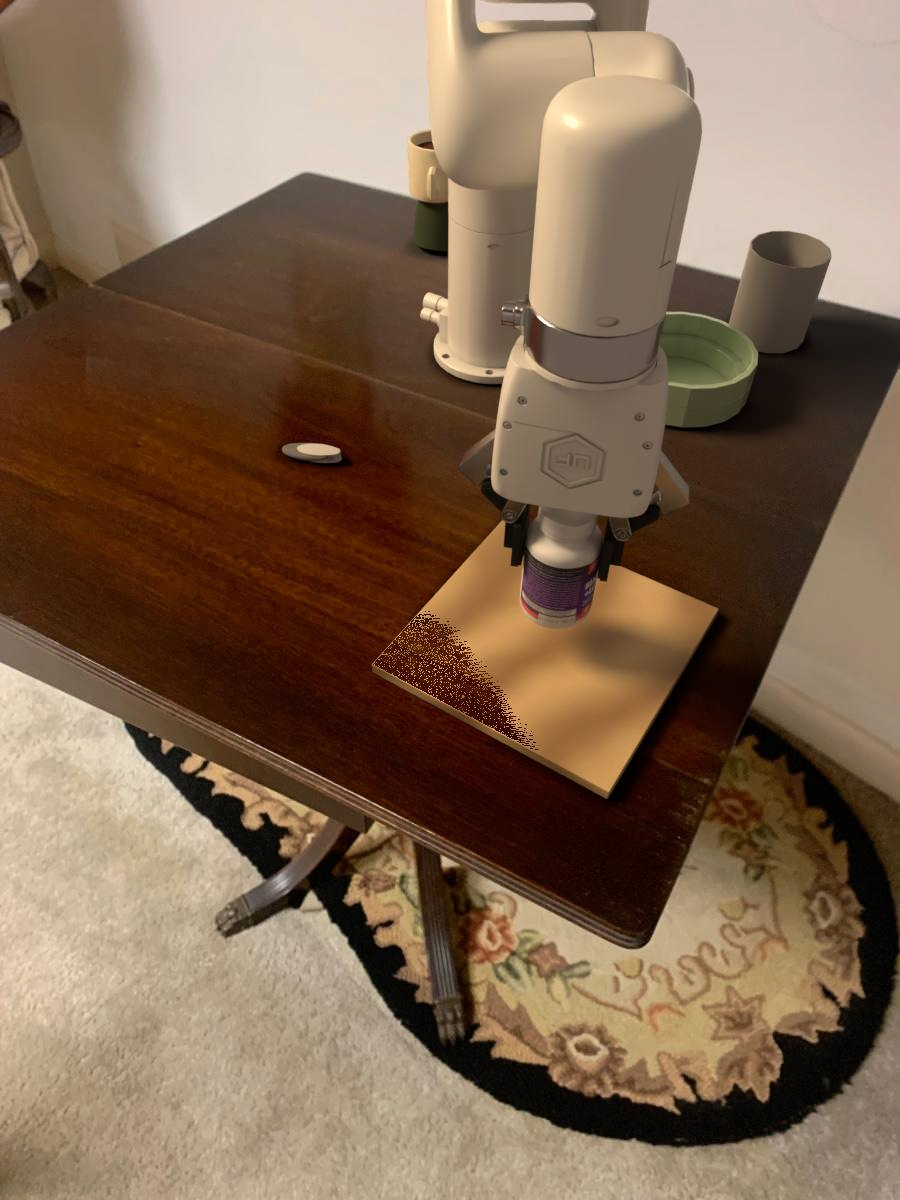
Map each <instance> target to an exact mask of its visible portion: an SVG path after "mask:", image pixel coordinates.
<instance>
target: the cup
mask: <svg viewBox="0 0 900 1200" xmlns="http://www.w3.org/2000/svg"><path fill="white" fill-rule="evenodd" d="M832 257H833V256H832V251H831V248H830V246H828V245H827V244H826V243H825V242H824V241H822V240H821V239H818V238H816V237H814V236H811V235H810V234H806V233H802V232H797V231H792V230H770V231H765V232H761V233H758V234H757V235H756V236H754V237H753V238H752V239H751V240H750V242H749V246H748V249H747V254H746V257H745V261H744V265H743V268H742V272H741V276H740V280H739V284H738V288H737V290H736V291H737V292H736V295H735V299H734V302H733V306H732V310H731V314H730V318H729V322H728V324H730V325H732V326H734V327H736V328H737V329H739V330H741V331H742V332H743V333H744V334H745V335H746V336H747V337H748V338H750V339H751V340H752V342H753V344H754V346H755V348H756V349H757V351H758V353H759V352H760V353H764V354H785V353H788V352H791V351H794V350H797V349H798V348H799V347H800V346H801V345H802V344H803V342H804V341H805V337H806V334H807V331H808V328H809V326H810V322H811V319H812V316H813V313H814V311H815V307H816V304H817V301H818V298H819V295H820V293H821V289H822V287H823V284H824V281H825V277H826V275H827V272H828V270H829V267H830V263H831V260H832Z"/></svg>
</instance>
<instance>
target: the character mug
mask: <svg viewBox="0 0 900 1200" xmlns="http://www.w3.org/2000/svg"><path fill="white" fill-rule="evenodd" d="M407 157H408V158H407V164H408V165H407V168H408V169H407V170H408V190H409V195H410V196H411V197H412V198H414V200H417V203H416V206H415V216H414V223H413V234H412V242H413V243H414V245H416V246H417V247H420V248H421V249H427V250H431V251H439V252H448V225H449V213H448V177H447V175H446V174H445V173H444V172H443V170H442V168H441V166H440V164H439V162H438V160H437V157H436V154H435V150H434V146H433V142H432V135H431V128H428V129H422V130H418V131H416V132H414V133H411V134H410V135H409V136H408V137H407Z"/></svg>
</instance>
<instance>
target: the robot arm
mask: <svg viewBox="0 0 900 1200" xmlns="http://www.w3.org/2000/svg"><path fill="white" fill-rule="evenodd" d="M481 1H482V2H486V3H490V4H499V5H579V4H580V5H586V6H587V7H588V8H590V14H591V15H590V18H589V19H561V20H560V19H559V20H557V19H556V20H553V19H552V20H545V19H515V20H514V19H513V20H510V19H509V20H507V19H506V20H489V21H488V20H487V21H482V22H477V13H476V0H424V30H425V31H424V33H425V34H424V35H425V59H426V79H427V81H426V82H427V83H426V84H427V100H428V103H427V104H428V118H429V127H430V129H431V135H432V142H433V146H434V150H435V154H436V157H437V160H438V162H439V164H440V166H441V168H442V170H443V172H444V173H445V174H446V175H447V177H448V213H449V225H448V251H447V258H448V259H447V262H448V263H447V298H445V296H442V295H439V294H436V293H433V292H430V291H429V292H427V293H426V294H425V295H424V297H423V300H422V309H421V310H420V314H419V317H420V320H422V321H424V322H427V323H430V324H435V325H436V326H437V328H438V332H437V333H436V335H435V337H434V339H433V356H434V359H435V361H436V363H437V364H438V365H439V367H440V368H442V369H443V370H444V371H446V373H448V374H450V375H452V376H453V377H456V378H458V379H461V380H463V381H467V382H471V383H476V384H481V385H482V384H484V385H501V389H500V395H499V401H498V409H497V415H496V422H495V428H494V429H493V430H492V431H490V432H489V433H488V434H486V435H485V436H484V437H483V438H481V439H480V440H479V441H478V442H476V443H475V444H474V445H472V446H470V447H469V448H468V449H466V450H465V451H464V452H463V453H462V455H461V457H460V460H459V464H458V467H457V469H458V472H460V474H462V475H463V476H464V477H465V478H466V479H467V480H468V481H470V482H471V483H472V484H473V485H474V486H476V487H477V486H478V487H479V488H480V492H481V494H482V495H483V496H484V497H485V498H486V499H487V500H488V501H489V502H490V503H491V504H492V505H493V506H494V507H495V508H497V510H498V511H499V512H500V518H501V521H502V520H503V521H504V522H505V534H504V547H506V548H512V554H511V566H515V567H518V565H520V566H521V563H522V559H523V555H524V547H525V538H526V532H527V528H528V526H529V525H530V519H531V509H532V508H531V507H532V506H538V507H539V506H544V507H551V508H557V509H563V510H570V511H576V512H583V513H589V514H596V515H598V516H603V517H607V518H606V524H605V529H604V535H603V547H602V552H601V558H600V563H599V569H598V575H597V578H598V579H600V581H604V582H607V578H608V573H609V568H610V565H615V566H621V564H622V559H623V553H624V548H625V544H626V541H627V542H628V541H629V540H630V539H632V535H633V533H635V532H637V531H639V530H641V529H643V528H645V527H647V526H649V525H651V524H654V523H656V522H657V521H658V520H659V519H660V517H661V516H667V515H669V514H671V513H674V512H676V511H679V510H681V509H683V508H686V507H687V506H689V504H690V497H691V488H690V485H689V484H688V483H687V482H686V480H685V479H684V478H683V476H682V475H681V474H680V472H679V471H678V469H676V467H675V466H674V465H673V463H672V462H671V461H670V459H669V458H668V457H667V455H666V454H665V453H664V452H663V450H662V449H663V448H662V446H663V443H664V442H663V441H664V435H665V429H666V425H665V423H666V414H667V405H668V366H667V357H666V354H665V352H664V350H663V349H662V348H661V347H660V341H661V336H662V331H663V327H664V322H665V317H666V312H668V311H667V310H668V305H669V300H670V296H671V291H672V287H673V281H674V276H675V271H676V266H677V260H678V256H679V251H680V247H681V242H682V237H683V233H684V232H683V231H684V227H685V222H686V217H687V213H688V207H689V204H690V199H691V194H692V188H693V183H694V178H695V174H696V169H697V164H698V160H699V155H700V150H701V143H702V136H703V120H702V114H701V112H700V109H699V106H698V104H697V102H696V101H695V79H694V74H693V72H692V69H691V68H690V67H689V66H688V65H687V60H686V59H685V55H684V53H683V51H682V49H681V48H680V46H679V45H678V44H677V42H675V41H674V40H673V39H672V38H670V37H669V36H667V35H664V34H661V33H657V32H653V31H647V29H648V24H649V23H648V22H649V16H650V8H651V0H481ZM490 463H491V464H490ZM655 487H656V488H657V489H658V490H656V492H654V489H655Z"/></svg>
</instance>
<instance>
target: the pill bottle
mask: <svg viewBox="0 0 900 1200" xmlns="http://www.w3.org/2000/svg"><path fill="white" fill-rule="evenodd" d="M598 517H599V515H596V514H589V513H583V512H576V511H570V510H563V509H557V508H551V507H544V506H538V510H537V516H536V517H534V518H533V519H532V520H531V522H529V526H528V528H527V532H526V538H525V547H524V558H523V570H522V580H521V589H520V604H521V608H522V610H523V612H524V613H525V615H526V616H527V617H528V618H529V619H530V620H531V621H533V622H534V623H536V624H538V625H540V626H543V627H546V628H552V629H564V628H569V627H572V626H575V625H577V624H579V623H580V622H582V621H583V620H584V619H585V618H586V617H587V615H588V614H589V612H590V609H591V605H592V600H593V595H594V590H595V585H596V579H597V574H598V569H599V563H600V558H601V552H602V547H603V540H604V536H603V534H602V531H601V528H600V527H599V526H598Z"/></svg>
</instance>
